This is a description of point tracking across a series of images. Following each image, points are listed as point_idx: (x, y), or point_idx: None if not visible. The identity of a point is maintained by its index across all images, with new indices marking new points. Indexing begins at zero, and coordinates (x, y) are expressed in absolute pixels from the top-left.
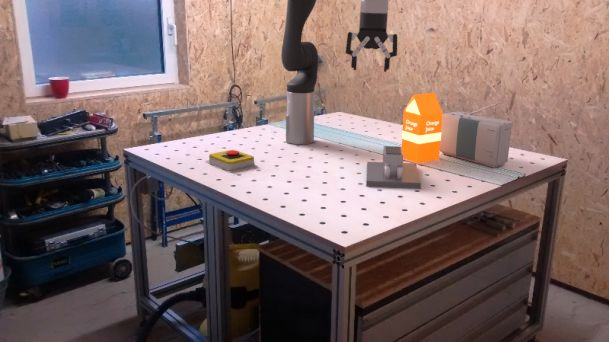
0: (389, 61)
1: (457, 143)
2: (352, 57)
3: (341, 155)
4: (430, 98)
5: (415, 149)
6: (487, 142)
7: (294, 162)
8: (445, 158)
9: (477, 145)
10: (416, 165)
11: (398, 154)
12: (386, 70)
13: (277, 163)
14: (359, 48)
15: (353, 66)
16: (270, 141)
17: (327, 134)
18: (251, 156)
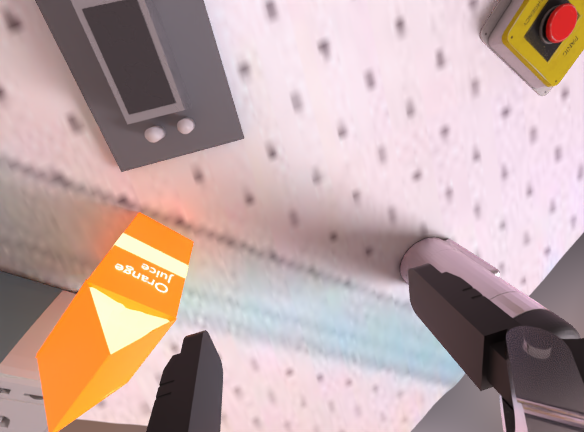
0: (149, 427)
1: (42, 307)
2: (517, 327)
3: (323, 201)
4: (62, 392)
5: (140, 231)
6: None
7: (408, 104)
8: None
9: None
10: (112, 153)
11: (91, 4)
12: (184, 339)
13: (442, 80)
14: (565, 428)
15: (443, 281)
16: (479, 237)
17: (385, 328)
18: (512, 38)
